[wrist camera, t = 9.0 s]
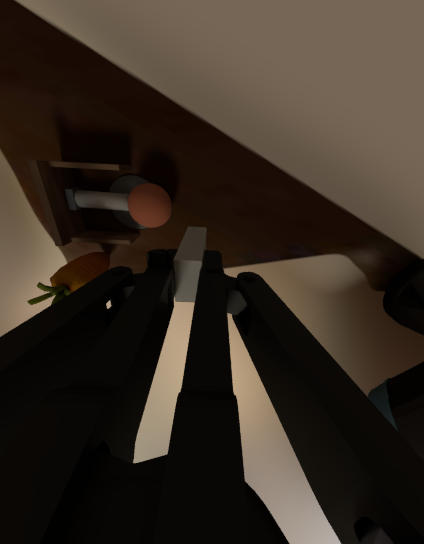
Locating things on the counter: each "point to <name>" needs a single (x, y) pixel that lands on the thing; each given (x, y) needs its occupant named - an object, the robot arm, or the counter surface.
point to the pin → (95, 199)
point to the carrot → (74, 276)
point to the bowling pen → (53, 198)
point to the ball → (149, 205)
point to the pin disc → (125, 187)
